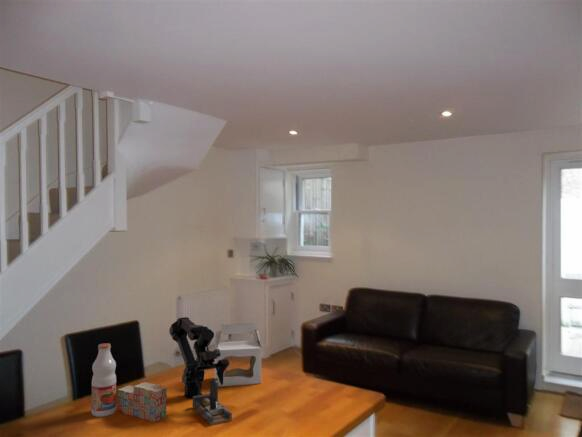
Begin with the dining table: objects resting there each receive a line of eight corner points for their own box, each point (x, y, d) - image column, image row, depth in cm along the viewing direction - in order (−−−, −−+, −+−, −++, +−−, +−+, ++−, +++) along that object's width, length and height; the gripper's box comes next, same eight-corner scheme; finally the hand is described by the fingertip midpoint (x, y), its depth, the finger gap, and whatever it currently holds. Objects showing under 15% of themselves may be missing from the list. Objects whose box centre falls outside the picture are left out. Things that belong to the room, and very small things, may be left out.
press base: (192, 407, 199) (192, 396, 199) (212, 403, 204) (212, 392, 204) (210, 425, 181) (210, 413, 181) (231, 420, 186) (231, 409, 186)
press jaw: (204, 411, 191) (204, 379, 191) (218, 408, 194) (218, 377, 194) (209, 416, 186) (209, 383, 187) (223, 413, 190) (223, 380, 190)
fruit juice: (102, 406, 199) (102, 340, 199) (120, 409, 196) (121, 342, 196) (86, 415, 190) (86, 346, 190) (105, 418, 187) (106, 348, 187)
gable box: (257, 375, 242) (258, 320, 242) (261, 383, 229) (262, 326, 229) (214, 377, 237) (214, 322, 237) (215, 386, 224) (216, 328, 224)
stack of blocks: (117, 411, 194) (117, 382, 194) (129, 406, 199) (129, 377, 199) (155, 422, 184) (155, 391, 184) (166, 417, 189) (167, 386, 189)
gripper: (187, 345, 192) (196, 380, 183) (228, 340, 202) (239, 373, 193) (179, 359, 199) (188, 393, 189) (220, 353, 209) (229, 386, 200)
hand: (211, 386), depth 193 cm, fingers open, 9 cm apart
